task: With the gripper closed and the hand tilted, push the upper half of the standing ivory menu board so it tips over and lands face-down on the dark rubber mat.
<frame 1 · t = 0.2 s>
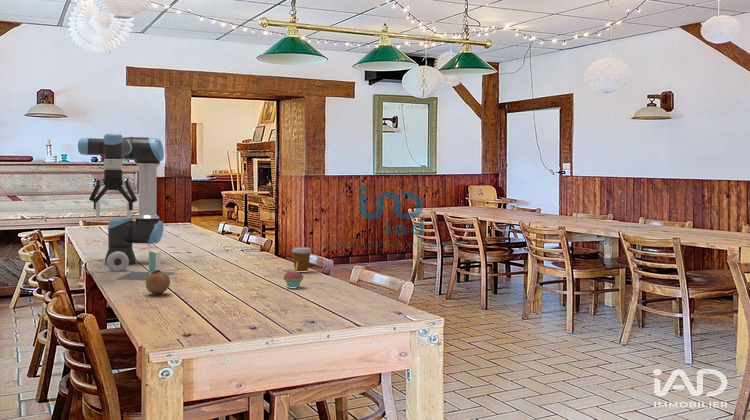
hand: (113, 217, 304), 28 cm above the table, tool pointing down, fingers open, 13 cm apart
disposable coffee cup: (301, 272, 340), on the table
donut: (117, 272, 327), on the table
cupcake: (293, 288, 298), on the table
mat: (146, 277, 316), on the table
onion: (157, 295, 276), on the table
menu board: (154, 274, 319), point 1 cm above the table, touching mat
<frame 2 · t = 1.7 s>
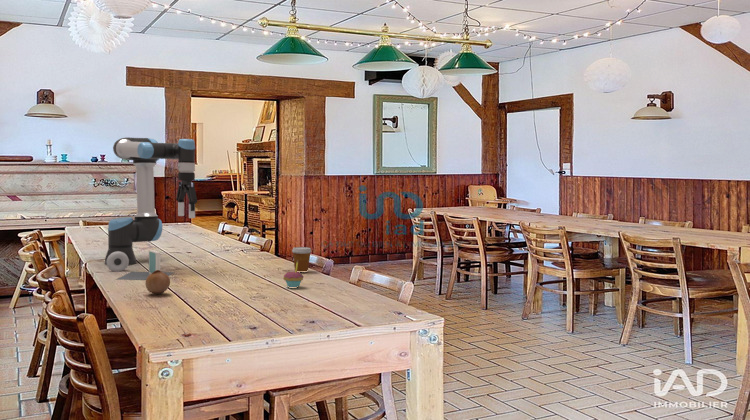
hand: (186, 217, 326), 27 cm above the table, tool pointing down, fingers open, 13 cm apart
nothing on the table moved.
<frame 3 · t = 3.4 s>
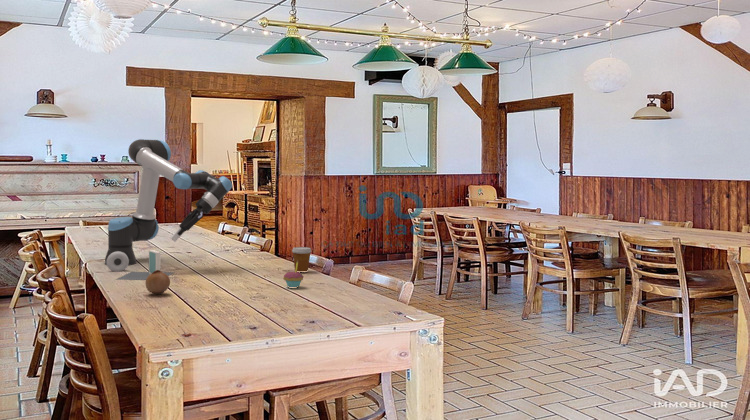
hand: (172, 239, 323), 17 cm above the table, tool tilted 45°, fingers closed
nothing on the table moved.
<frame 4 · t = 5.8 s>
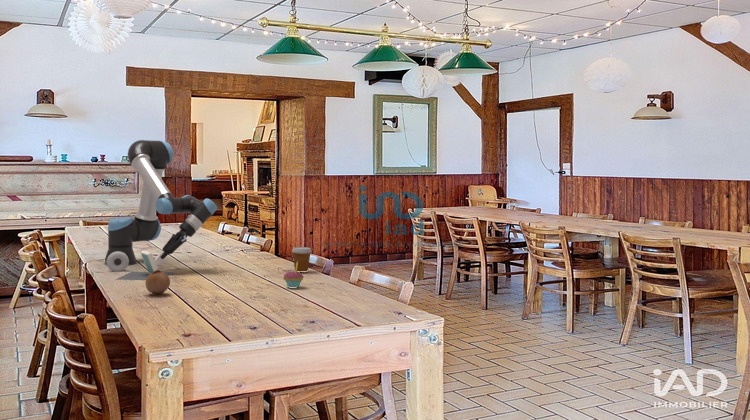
hand: (155, 263, 319), 6 cm above the table, tool tilted 45°, fingers closed
menu board: (154, 274, 319), point 1 cm above the table, tilted 21°, touching mat
everything else where it was.
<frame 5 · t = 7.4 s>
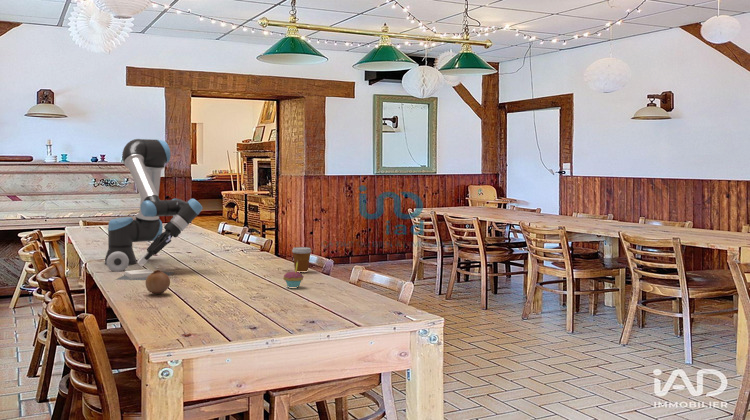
hand: (139, 264, 314), 6 cm above the table, tool tilted 45°, fingers closed
menu board: (151, 272, 318), point 2 cm above the table, tilted 90°, touching mat
everything else where it was.
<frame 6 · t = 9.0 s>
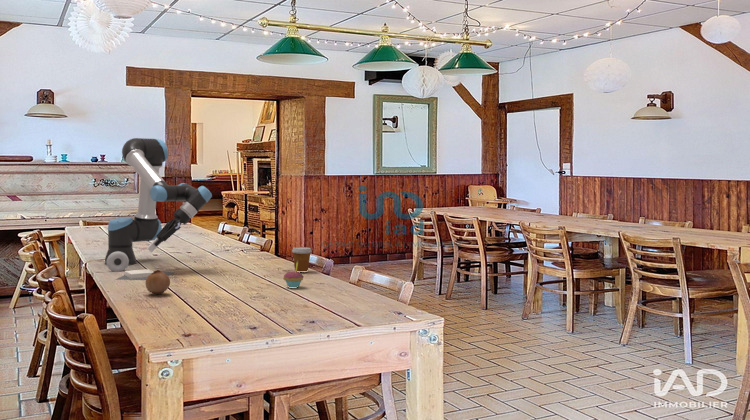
hand: (149, 250, 317), 12 cm above the table, tool tilted 45°, fingers closed
nothing on the table moved.
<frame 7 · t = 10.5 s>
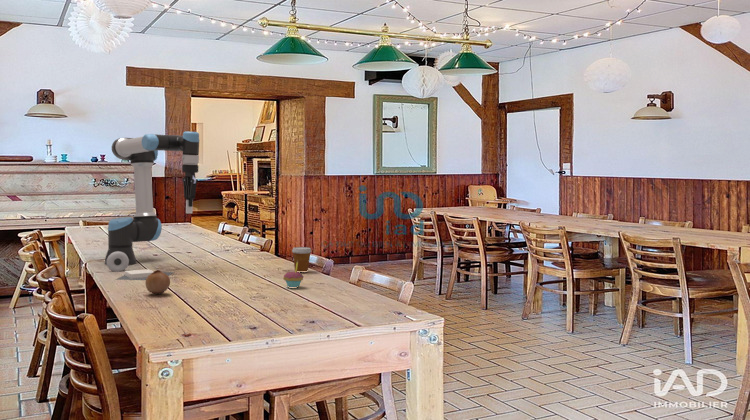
hand: (189, 213, 331), 28 cm above the table, tool pointing down, fingers closed
nothing on the table moved.
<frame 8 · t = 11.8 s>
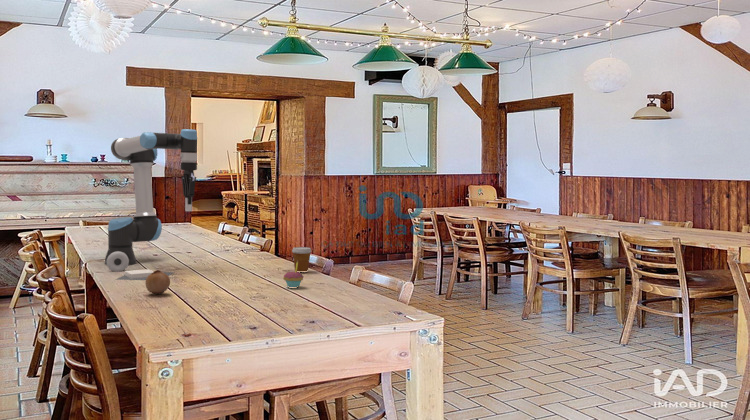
hand: (188, 211, 331), 29 cm above the table, tool pointing down, fingers closed
nothing on the table moved.
at the end: menu board tilted 90°; menu board inside the target area (3.4 cm from its centre), point 1.6 cm above the table; the gripper is holding nothing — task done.
